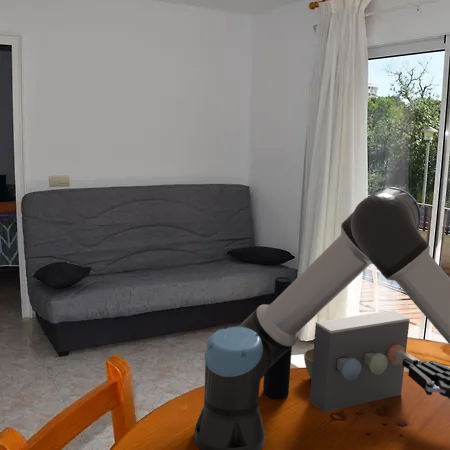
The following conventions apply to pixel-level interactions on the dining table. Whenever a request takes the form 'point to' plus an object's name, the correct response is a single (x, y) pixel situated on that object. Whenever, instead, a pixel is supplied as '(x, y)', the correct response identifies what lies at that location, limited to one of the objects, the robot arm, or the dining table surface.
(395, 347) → the terracotta button
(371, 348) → the control panel
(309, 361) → the flower pot
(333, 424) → the dining table surface
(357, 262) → the robot arm
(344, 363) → the slate button
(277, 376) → the wine bottle
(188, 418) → the dining table surface
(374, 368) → the sage button
